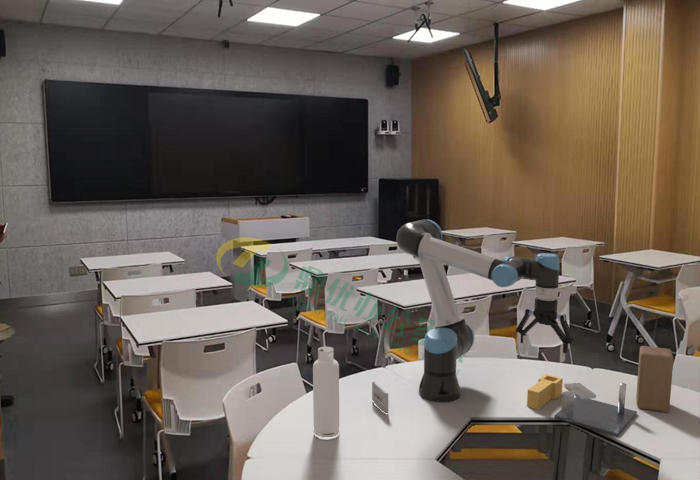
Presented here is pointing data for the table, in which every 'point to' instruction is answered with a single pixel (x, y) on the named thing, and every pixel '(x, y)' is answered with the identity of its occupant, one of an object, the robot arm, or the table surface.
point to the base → (601, 414)
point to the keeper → (568, 397)
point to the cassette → (380, 397)
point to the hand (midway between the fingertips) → (543, 356)
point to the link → (544, 391)
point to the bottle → (326, 393)
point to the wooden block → (654, 378)
